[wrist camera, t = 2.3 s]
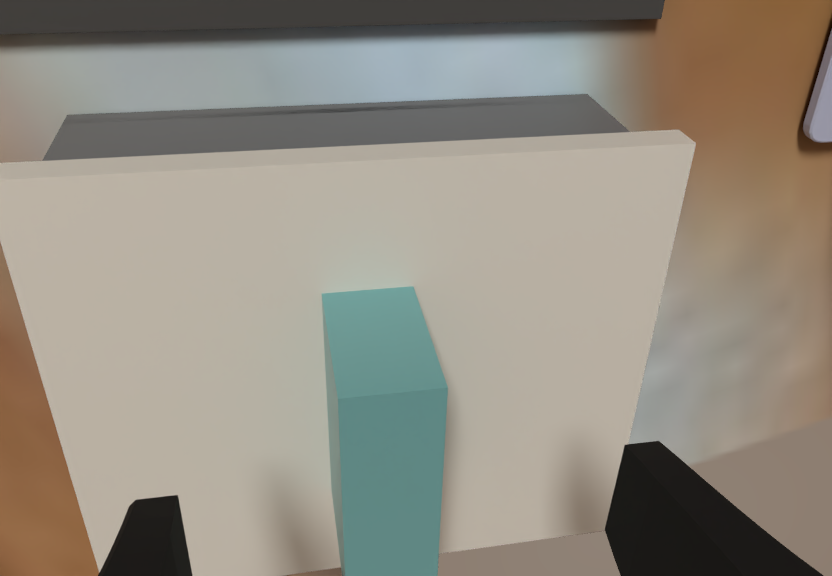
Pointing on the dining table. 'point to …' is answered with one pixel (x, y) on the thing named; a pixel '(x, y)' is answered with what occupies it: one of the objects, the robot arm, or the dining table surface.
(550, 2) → the mat
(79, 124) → the tub
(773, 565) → the robot arm
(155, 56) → the dining table surface
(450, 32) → the dining table surface
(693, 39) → the dining table surface
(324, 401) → the lid
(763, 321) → the dining table surface
